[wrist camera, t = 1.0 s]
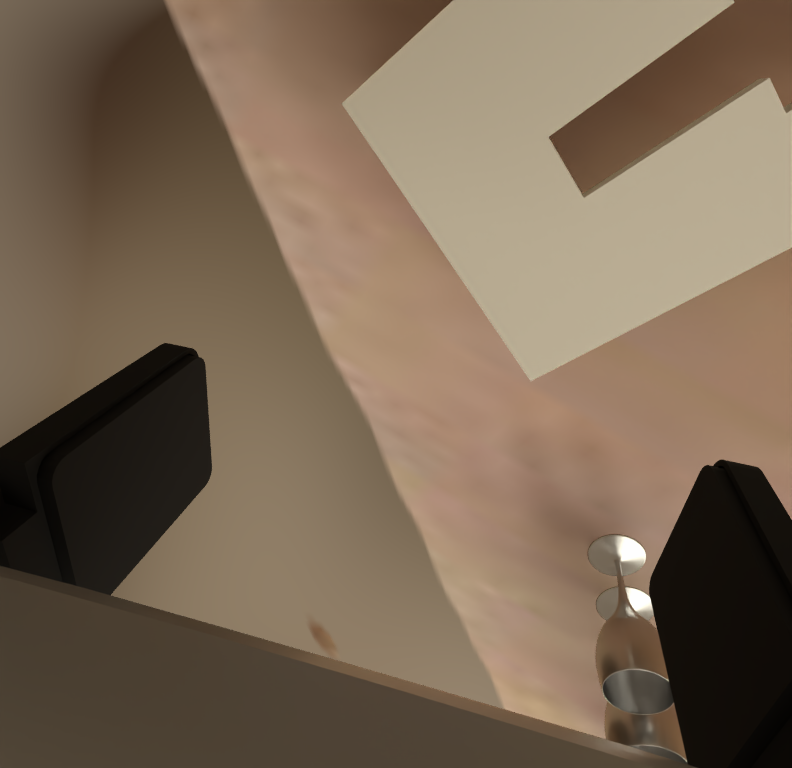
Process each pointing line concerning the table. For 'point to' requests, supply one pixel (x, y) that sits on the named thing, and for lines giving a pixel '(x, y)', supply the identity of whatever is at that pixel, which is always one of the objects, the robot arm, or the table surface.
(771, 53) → the table surface
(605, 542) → the goblet set
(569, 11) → the keyhole shelf
